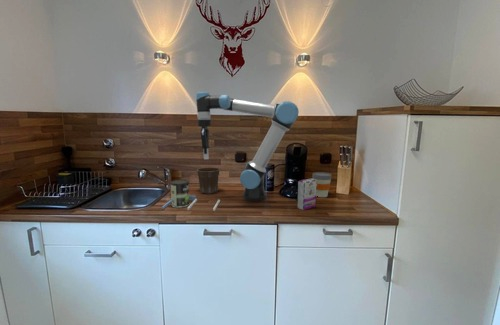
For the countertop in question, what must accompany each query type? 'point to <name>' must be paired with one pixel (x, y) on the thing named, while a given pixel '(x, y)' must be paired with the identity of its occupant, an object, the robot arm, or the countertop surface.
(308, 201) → the candy bar box
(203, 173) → the plant pot
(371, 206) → the countertop surface
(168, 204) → the divider rack
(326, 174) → the reusable coffee cup
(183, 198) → the coffee can
